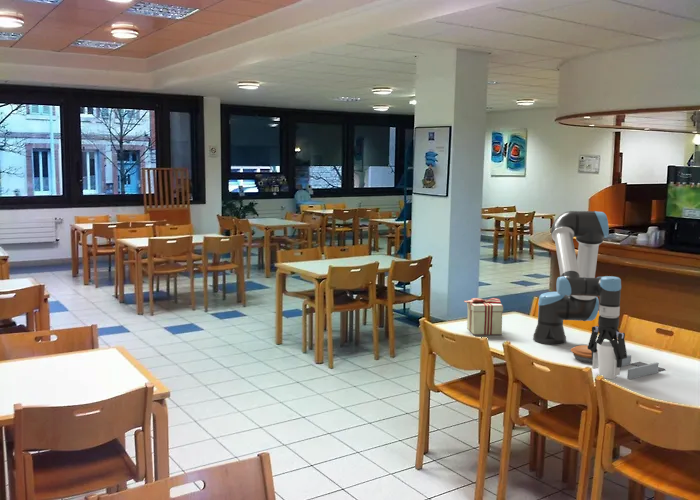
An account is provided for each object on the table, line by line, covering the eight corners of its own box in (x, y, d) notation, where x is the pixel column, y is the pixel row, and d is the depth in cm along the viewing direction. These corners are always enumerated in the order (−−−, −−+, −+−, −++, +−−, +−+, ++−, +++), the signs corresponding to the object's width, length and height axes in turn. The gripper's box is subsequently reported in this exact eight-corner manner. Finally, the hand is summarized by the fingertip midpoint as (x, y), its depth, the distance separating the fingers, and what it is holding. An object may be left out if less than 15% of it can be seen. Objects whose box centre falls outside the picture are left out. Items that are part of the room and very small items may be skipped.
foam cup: (590, 373, 263) (592, 341, 261) (611, 372, 265) (613, 340, 263) (604, 380, 254) (606, 348, 252) (625, 379, 255) (627, 346, 254)
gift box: (491, 326, 341) (492, 294, 339) (504, 335, 323) (506, 301, 320) (460, 327, 338) (461, 294, 336) (471, 336, 320) (472, 301, 318)
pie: (562, 356, 287) (563, 345, 286) (589, 352, 293) (589, 341, 292) (588, 366, 273) (589, 354, 272) (616, 362, 279) (616, 350, 279)
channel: (600, 370, 267) (600, 360, 267) (628, 363, 276) (629, 354, 276) (629, 379, 255) (629, 369, 255) (657, 372, 264) (658, 363, 264)
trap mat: (630, 364, 275) (630, 363, 275) (639, 362, 278) (639, 361, 278) (656, 372, 265) (656, 371, 265) (665, 369, 268) (665, 369, 268)
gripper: (579, 311, 263) (576, 365, 266) (626, 322, 244) (623, 380, 247) (592, 309, 267) (589, 363, 269) (639, 320, 248) (636, 377, 251)
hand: (605, 371), depth 258 cm, fingers closed on foam cup, 9 cm apart
